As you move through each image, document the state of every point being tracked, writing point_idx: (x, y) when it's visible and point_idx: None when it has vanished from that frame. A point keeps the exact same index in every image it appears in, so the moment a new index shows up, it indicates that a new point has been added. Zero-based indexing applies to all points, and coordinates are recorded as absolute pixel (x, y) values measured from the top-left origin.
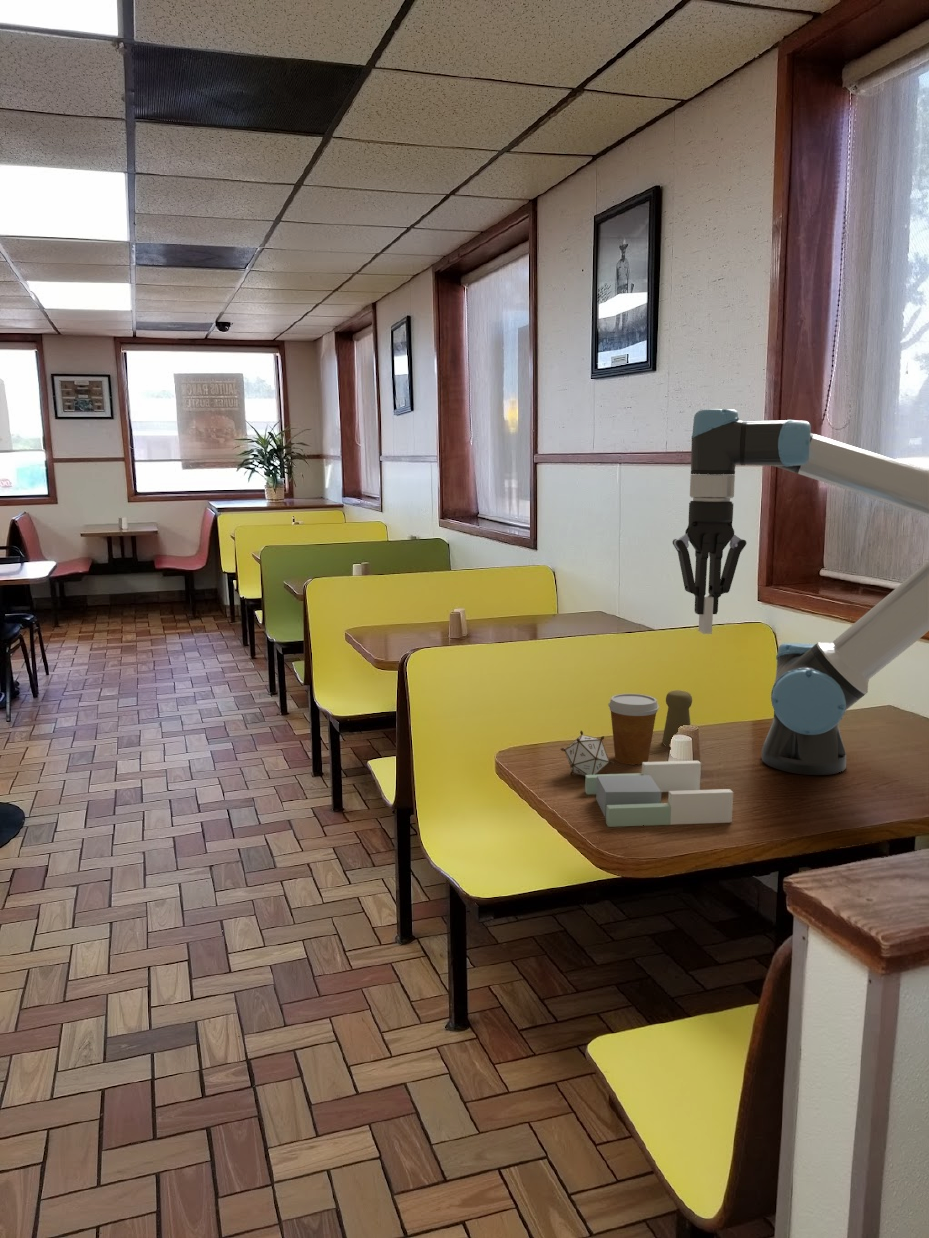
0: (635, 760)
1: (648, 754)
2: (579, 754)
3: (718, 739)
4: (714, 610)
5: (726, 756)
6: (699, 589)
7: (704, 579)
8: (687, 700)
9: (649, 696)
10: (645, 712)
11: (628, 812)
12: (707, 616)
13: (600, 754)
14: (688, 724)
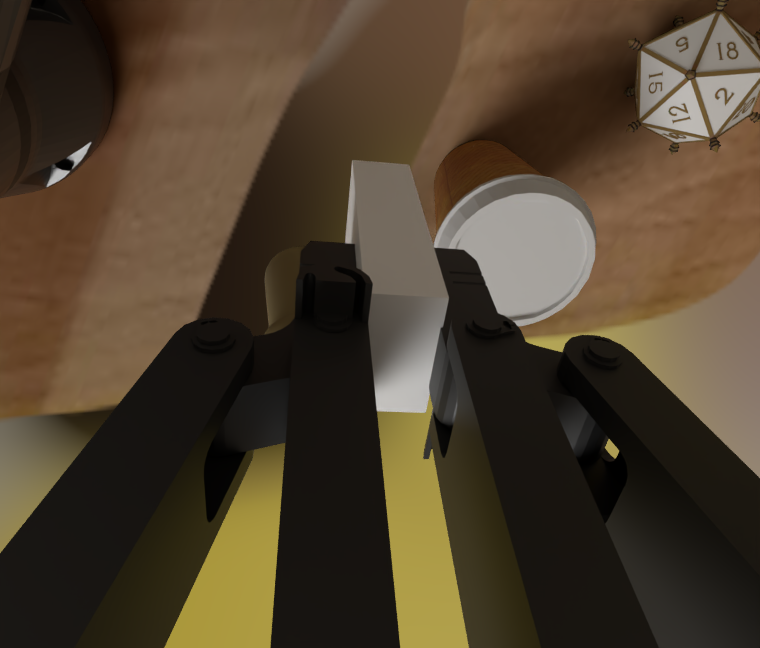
0: (492, 143)
1: (449, 161)
2: (754, 44)
3: (178, 300)
4: (330, 256)
5: (206, 165)
6: (530, 355)
7: (506, 433)
8: (285, 326)
9: None
10: (516, 175)
11: None
12: (399, 214)
13: (693, 33)
14: (280, 290)
